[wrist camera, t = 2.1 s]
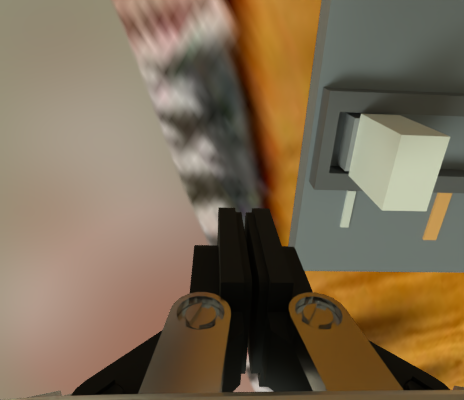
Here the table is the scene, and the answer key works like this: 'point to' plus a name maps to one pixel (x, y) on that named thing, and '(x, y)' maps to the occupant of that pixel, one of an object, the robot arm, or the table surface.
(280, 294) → the robot arm
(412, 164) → the fader
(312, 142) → the console
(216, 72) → the table surface
